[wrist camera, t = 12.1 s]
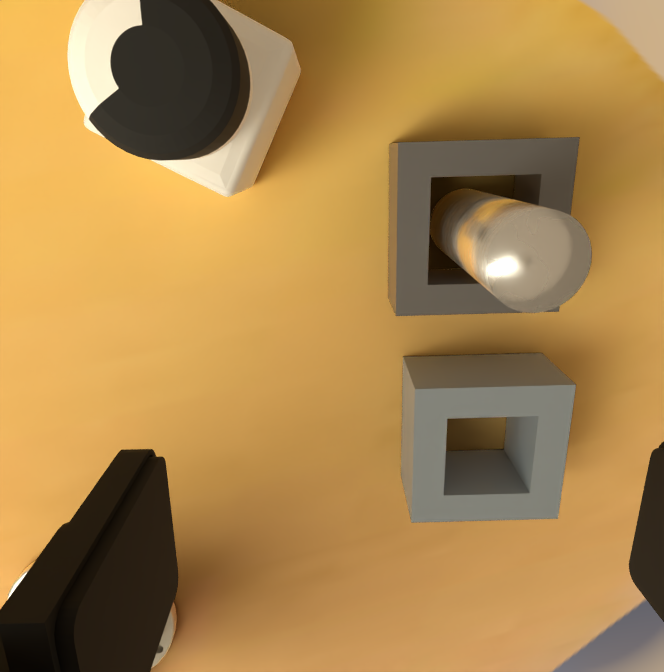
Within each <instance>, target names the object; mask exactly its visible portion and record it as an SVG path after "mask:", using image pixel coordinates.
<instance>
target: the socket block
mask: <svg viewBox="0 0 664 672" xmlns="http://www.w3.org/2000/svg"><path fill="white" fill-rule="evenodd" d="M575 389H576V384H575V383H574V382H573V381H572V380H570V379H569V378H568V377H567V376H566V375H565V374H564V373H563V372H562V371H561V370H560V369H559V368H558V367H557V366H555V365H554V364H553V363H552V362H551V361H550V360H549V359H548V358H547V357H546V356H545V355H544V354H543V353H516V354H480V355H444V356H408V357H403V386H402V441H401V478H402V483H403V487H404V492H405V496H406V501H407V505H408V510H409V514H410V518H411V523H413V522H451V521H488V520H526V519H558V514H559V507H560V499H561V492H562V485H563V477H564V470H565V463H566V455H567V448H568V441H569V433H570V426H571V419H572V411H573V404H574V397H575ZM489 417H507V420H506V431H505V442H504V449H496V450H459V451H446V438H447V419H452V418H489Z"/></svg>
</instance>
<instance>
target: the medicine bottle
mask: <svg viewBox="0 0 664 672" xmlns="http://www.w3.org/2000/svg"><path fill="white" fill-rule="evenodd" d="M68 68H69V74H70V79H71V83H72V86H73V89H74V92H75V95H76V98H77V100H78V102H79V104H80V106H81V108H82V110H83V111H84V113H85V117H84V124H85V126H86V127H87V128H88V129H89V130H90V131H92V132H94V133H96V134H98V135H100V136H102V137H104V138H106V139H108V140H109V141H110V142H112V143H113V144H114V145H116V146H117V147H119V148H121V149H122V150H124V151H126V152H128V153H131V154H133V155H136V156H138V157H142V158H146V159H149V160H151V161H154V162H156V163H158V164H160V165H162V166H164V167H166V168H168V169H170V170H172V171H174V172H176V173H178V174H180V175H182V176H184V177H186V178H188V179H190V180H192V181H194V182H197V183H199V184H201V185H203V186H205V187H207V188H209V189H211V190H213V191H215V192H217V193H219V194H221V195H223V196H227V197H229V196H232V195H235V194H237V193H239V192H242V191H244V190H246V189H248V188H251V187H252V186H253V185H254V182H255V180H256V178H257V175H258V173H259V171H260V168H261V166H262V164H263V161H264V159H265V157H266V154H267V152H268V149H269V147H270V145H271V142H272V140H273V138H274V135H275V133H276V131H277V128H278V126H279V124H280V121H281V119H282V116H283V114H284V112H285V109H286V107H287V105H288V102H289V100H290V98H291V95H292V93H293V91H294V88H295V86H296V84H297V81H298V79H299V76H300V74H301V68H300V65H299V62H298V59H297V56H296V53H295V50H294V47H293V44H292V42H291V41H290V40H289V39H287V38H286V37H284V36H282V35H280V34H278V33H276V32H275V31H273V30H271V29H269V28H267V27H265V26H264V25H262V24H260V23H258V22H256V21H255V20H253V19H251V18H249V17H247V16H245V15H244V14H242V13H240V12H238V11H236V10H234V9H233V8H231V7H229V6H227V5H225V4H223V3H222V2H220V1H218V0H85V1H84V2H83V4H82V5H81V7H80V8H79V10H78V12H77V14H76V16H75V18H74V22H73V25H72V28H71V31H70V36H69V42H68Z"/></svg>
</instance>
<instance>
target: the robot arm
mask: <svg viewBox="0 0 664 672" xmlns="http://www.w3.org/2000/svg"><path fill="white" fill-rule="evenodd" d="M629 570H630V575H631V577H632V580H633V582H634V583H635V585H636V586H637V588H638V589H639V590H640V592H641V593H642V594H643V595H644V597H645V598H646V599H647V601H648V602H649V603H650V605H651V606H652V607H653V609H654V610H655V611H656V613H657V614H658V615H659V616H660V618H661V619H662V620H663V622H664V442H662V443H661V445H660V446H659V448H657V449H655V450H653V452H652V454H651V457H650V462H649V467H648V472H647V476H646V481H645V486H644V491H643V496H642V501H641V506H640V511H639V516H638V521H637V526H636V531H635V536H634V541H633V546H632V551H631V556H630V561H629ZM177 587H178V567H177V558H176V549H175V540H174V532H173V523H172V514H171V505H170V496H169V488H168V479H167V470H166V463H165V459H164V458H163V457H156V455H155V452H154V451H153V450H152V449H138V450H121V451H120V452H119V453H118V454H117V455H116V457H115V458H114V460H113V461H112V463H111V464H110V465H109V467H108V468H107V470H106V471H105V472H104V474H103V475H102V477H101V478H100V480H99V481H98V482H97V484H96V485H95V487H94V488H93V489H92V491H91V492H90V494H89V495H88V497H87V498H86V499H85V501H84V502H83V504H82V505H81V506H80V508H79V509H78V511H77V512H76V514H75V515H74V516H73V518H72V519H71V521H70V522H68V523H65V524H63V525H62V526H61V527H60V528H59V529H58V531H57V532H56V533H55V535H54V536H53V537H52V539H51V540H50V542H49V543H48V544H47V546H46V547H45V549H44V550H43V551H42V553H41V554H40V555H39V557H38V558H37V560H35V561H34V562H32V563H31V564H30V565H29V566H28V567H27V568H26V569H25V570H24V571H23V572H22V573H21V575H20V576H19V577H18V579H17V580H16V581H15V583H14V584H13V586H12V588H11V589H10V591H9V594H8V597H7V601H6V603H5V604H4V605H3V607H2V608H1V610H0V672H150V670H151V668H153V667H154V666H155V665H157V664H158V663H159V662H160V661H161V660H162V658H163V657H164V656H165V655H166V653H167V651H168V650H169V648H170V646H171V644H172V640H173V637H174V634H175V631H176V623H177V615H176V609H175V604H174V599H175V596H176V592H177Z"/></svg>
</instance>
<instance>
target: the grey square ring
mask: <svg viewBox="0 0 664 672" xmlns="http://www.w3.org/2000/svg"><path fill="white" fill-rule="evenodd" d="M579 138H580V137H570V138H536V139H502V140H467V141H433V142H399V143H392V144H389V242H388V298H389V301H390V303H391V306H392V308H393V310H394V313H395V315H396V316H415V315H451V314H487V313H522V312H520V311H517V310H514V309H512V308H510V307H508V306H506V305H505V304H503V303H502V302H501V301H500V300H499V299H497V298H496V297H495V296H494V295H493V294H492V293H490V292H489V291H488V290H487V289H486V288H485V287H483V286H482V285H481V284H480V283H479V282H478V281H477V280H475V279H474V278H473V277H472V276H471V275H470V274H468V273H467V272H466V271H465V270H464V269H463V268H460V269H428V257H429V226H430V196H431V177H457V176H492V175H515V180H514V193H513V199H514V200H518V201H522V202H526V203H530V204H534V205H538V206H542V207H546V208H550V209H554V210H558V211H561V212H564V213H566V214H568V215H570V214H571V205H572V197H573V188H574V180H575V172H576V163H577V155H578V146H579ZM559 307H560V306H558V307H556V308H554V309H551V310H548V311H544V312H558V311H559Z"/></svg>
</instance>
